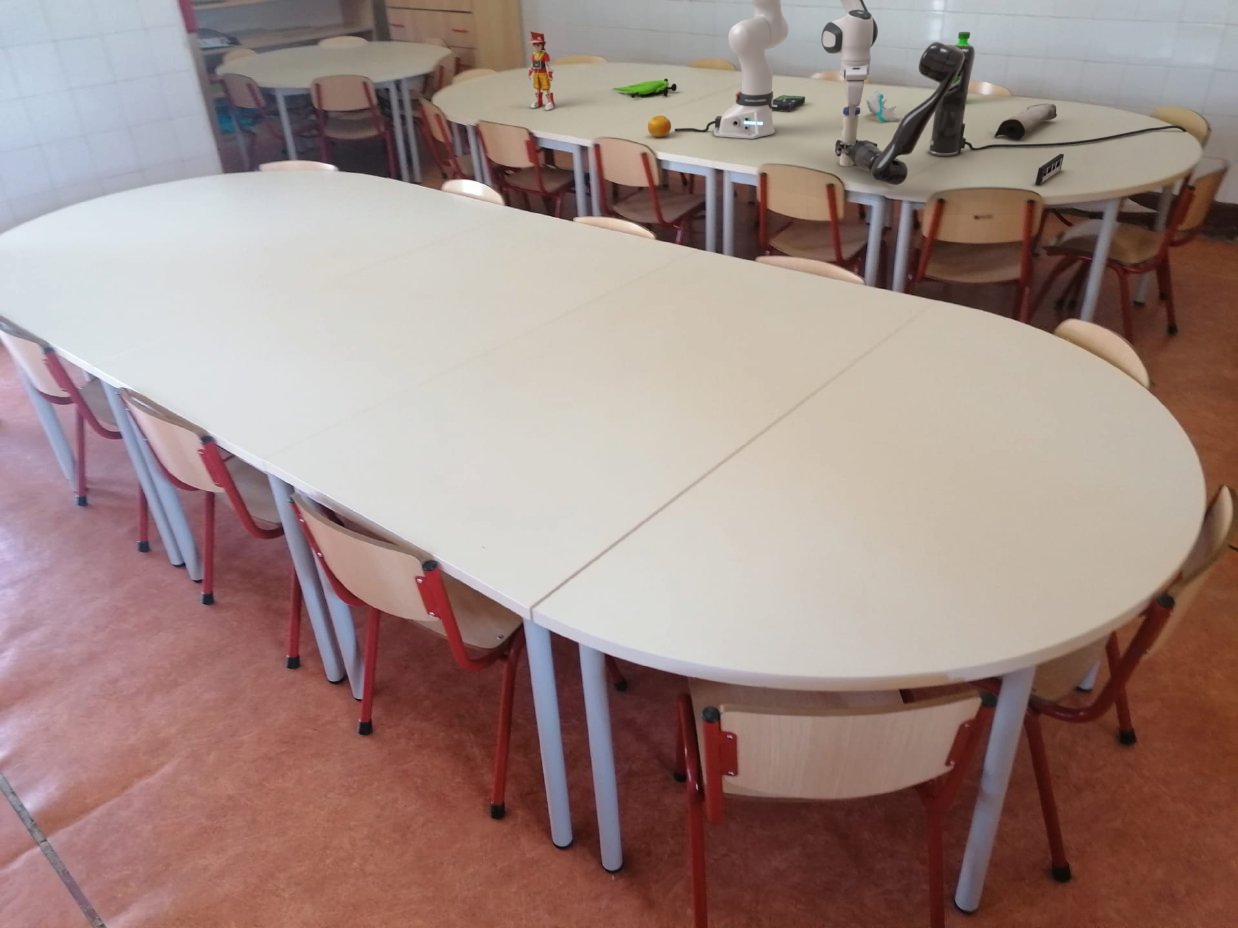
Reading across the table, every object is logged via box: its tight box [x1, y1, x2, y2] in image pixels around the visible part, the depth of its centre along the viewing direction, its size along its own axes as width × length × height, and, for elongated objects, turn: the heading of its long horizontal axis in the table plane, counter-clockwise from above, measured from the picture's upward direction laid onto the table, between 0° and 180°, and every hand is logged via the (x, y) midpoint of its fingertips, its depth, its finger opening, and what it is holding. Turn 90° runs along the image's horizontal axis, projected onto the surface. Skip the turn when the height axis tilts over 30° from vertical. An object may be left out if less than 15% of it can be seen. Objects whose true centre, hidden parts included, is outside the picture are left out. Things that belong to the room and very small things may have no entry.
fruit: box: [647, 115, 672, 138], centre depth 334 cm, size 8×8×8 cm
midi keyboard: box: [1035, 153, 1065, 186], centre depth 273 cm, size 18×1×5 cm, turn 138°
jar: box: [839, 114, 860, 167], centre depth 292 cm, size 5×5×17 cm
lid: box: [842, 106, 861, 116], centre depth 287 cm, size 5×5×2 cm
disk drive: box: [772, 94, 806, 112], centre depth 362 cm, size 10×3×15 cm
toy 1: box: [527, 31, 556, 111], centre depth 374 cm, size 12×9×30 cm
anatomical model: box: [865, 90, 901, 123], centre depth 339 cm, size 15×10×10 cm
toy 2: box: [612, 78, 677, 99], centre depth 396 cm, size 28×5×30 cm
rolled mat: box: [993, 103, 1058, 141], centre depth 317 cm, size 30×9×10 cm
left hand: (850, 114), depth 288 cm, fingers open, 7 cm apart
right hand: (845, 142), depth 295 cm, fingers closed on jar, 4 cm apart
